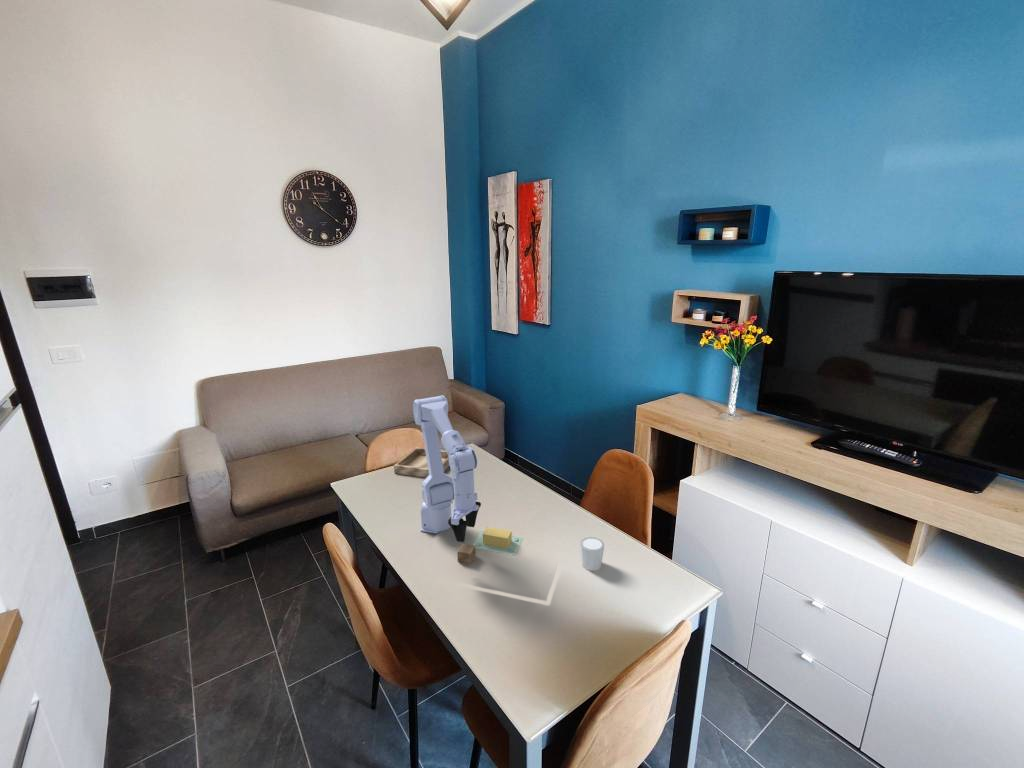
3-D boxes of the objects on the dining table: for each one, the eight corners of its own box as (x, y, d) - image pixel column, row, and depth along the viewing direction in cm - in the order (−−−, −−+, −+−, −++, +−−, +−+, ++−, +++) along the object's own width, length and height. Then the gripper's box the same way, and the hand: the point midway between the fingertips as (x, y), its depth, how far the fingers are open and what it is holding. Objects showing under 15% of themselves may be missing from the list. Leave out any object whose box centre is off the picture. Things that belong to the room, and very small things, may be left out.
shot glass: (605, 559, 138) (606, 539, 136) (601, 574, 132) (602, 552, 130) (581, 555, 141) (582, 534, 139) (577, 569, 134) (577, 548, 132)
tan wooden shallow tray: (394, 473, 194) (393, 465, 193) (416, 454, 211) (416, 447, 210) (436, 479, 188) (436, 471, 187) (455, 459, 205) (455, 452, 204)
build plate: (470, 550, 143) (470, 546, 143) (481, 533, 152) (481, 530, 151) (514, 558, 139) (514, 554, 139) (523, 540, 148) (523, 537, 147)
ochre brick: (482, 544, 145) (482, 534, 144) (487, 536, 148) (487, 526, 147) (507, 548, 142) (507, 538, 141) (511, 541, 146) (511, 531, 145)
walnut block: (457, 564, 137) (457, 551, 136) (463, 556, 141) (462, 543, 139) (470, 567, 136) (470, 553, 134) (475, 559, 139) (475, 545, 138)
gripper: (467, 506, 124) (469, 550, 128) (486, 481, 137) (487, 522, 141) (443, 502, 126) (445, 546, 130) (464, 478, 139) (465, 518, 143)
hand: (465, 533), depth 136 cm, fingers open, 7 cm apart
